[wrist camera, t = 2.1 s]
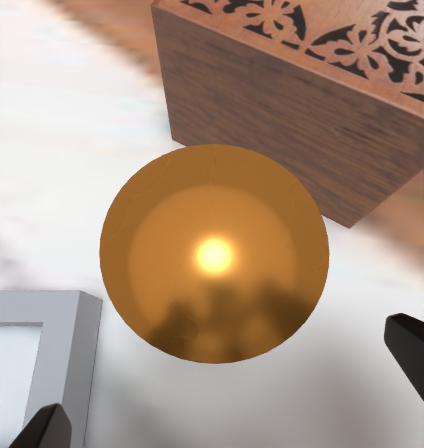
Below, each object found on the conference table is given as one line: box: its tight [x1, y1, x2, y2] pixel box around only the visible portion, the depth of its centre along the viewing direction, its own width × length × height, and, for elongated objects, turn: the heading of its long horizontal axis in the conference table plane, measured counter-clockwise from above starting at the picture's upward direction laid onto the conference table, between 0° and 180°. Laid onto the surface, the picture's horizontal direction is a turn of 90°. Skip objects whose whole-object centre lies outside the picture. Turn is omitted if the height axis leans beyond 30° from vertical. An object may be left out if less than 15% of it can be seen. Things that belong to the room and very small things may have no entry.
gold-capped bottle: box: [99, 144, 329, 364], centre depth 12 cm, size 5×5×13 cm
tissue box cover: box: [151, 0, 424, 228], centre depth 21 cm, size 26×14×10 cm, turn 150°
